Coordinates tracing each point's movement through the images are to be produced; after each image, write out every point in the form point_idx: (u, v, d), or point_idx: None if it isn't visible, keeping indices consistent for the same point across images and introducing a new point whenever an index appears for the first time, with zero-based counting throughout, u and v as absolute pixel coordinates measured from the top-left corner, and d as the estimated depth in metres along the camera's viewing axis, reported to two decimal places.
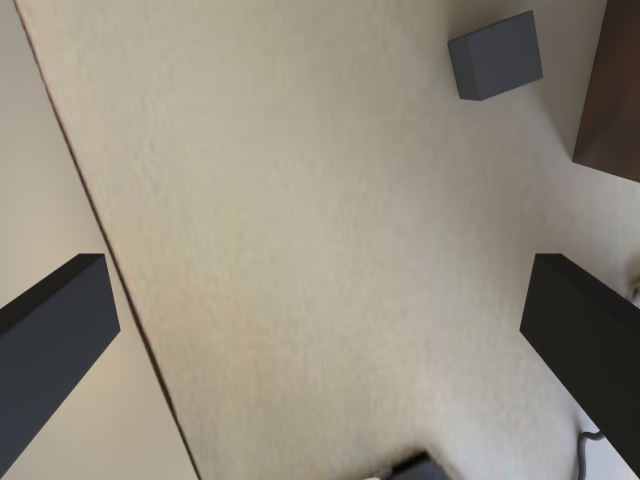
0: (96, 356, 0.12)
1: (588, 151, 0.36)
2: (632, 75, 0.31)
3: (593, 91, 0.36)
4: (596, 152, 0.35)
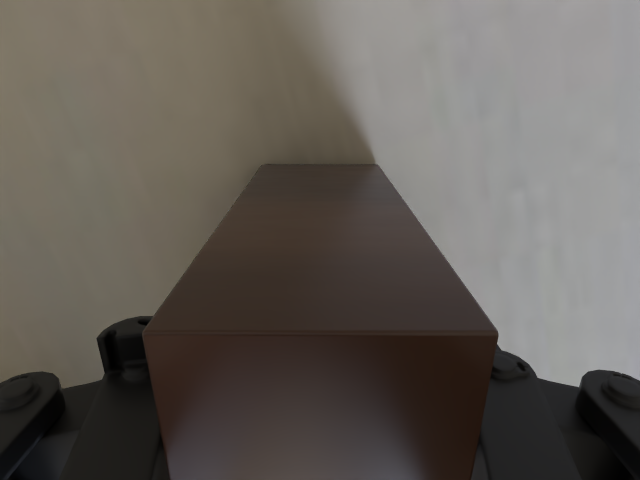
0: None
1: None
2: None
3: None
4: None
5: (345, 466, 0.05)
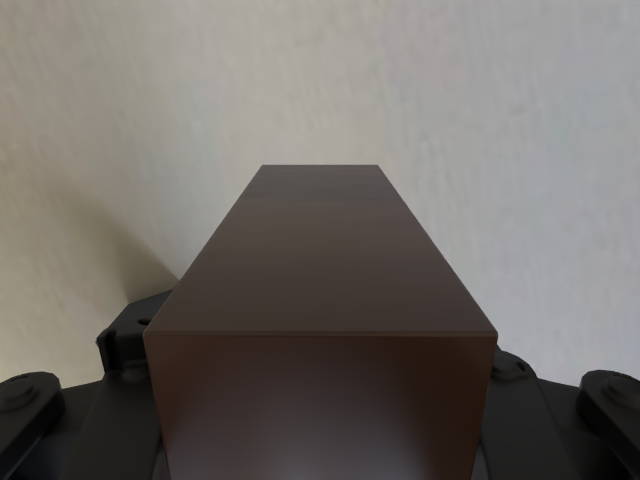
0: None
1: None
2: None
3: None
4: None
5: (345, 466, 0.05)
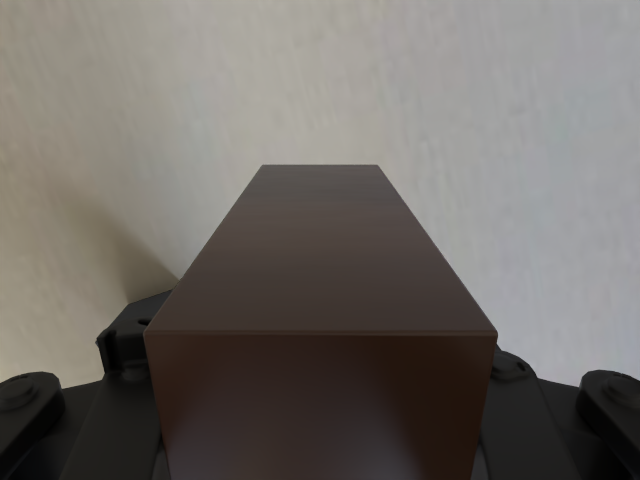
0: None
1: None
2: None
3: None
4: None
5: (345, 465, 0.05)
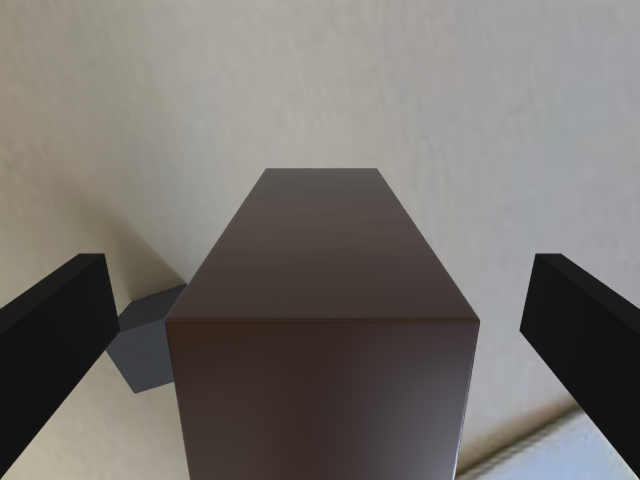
0: (96, 356, 0.12)
1: None
2: None
3: None
4: None
5: (345, 441, 0.06)
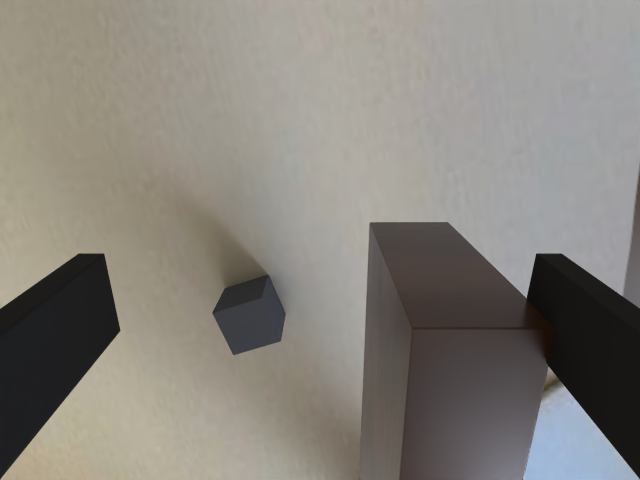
0: (96, 356, 0.12)
1: None
2: None
3: None
4: None
5: (486, 388, 0.12)
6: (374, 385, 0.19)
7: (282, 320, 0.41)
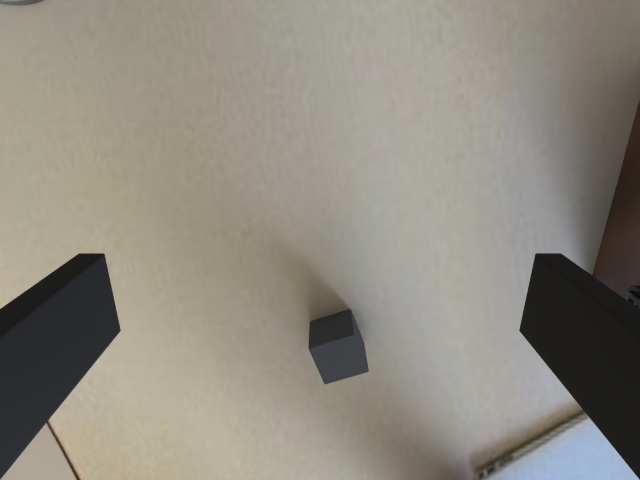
0: (96, 356, 0.12)
1: None
2: None
3: (608, 241, 0.42)
4: None
5: None
6: None
7: (364, 350, 0.46)
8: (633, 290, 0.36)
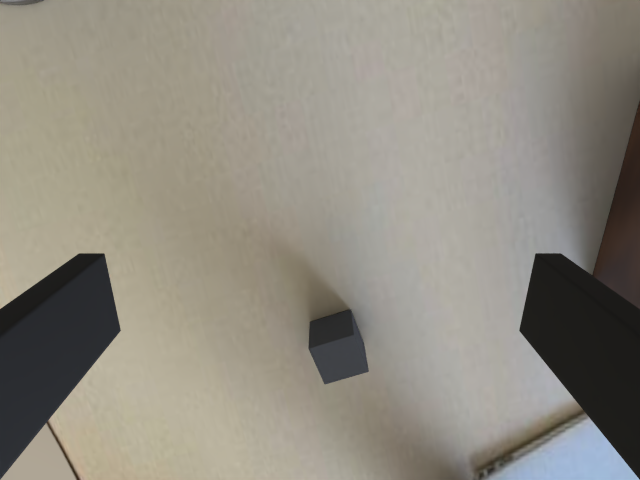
0: (96, 356, 0.12)
1: None
2: None
3: (608, 241, 0.42)
4: None
5: None
6: None
7: (364, 350, 0.46)
8: None
